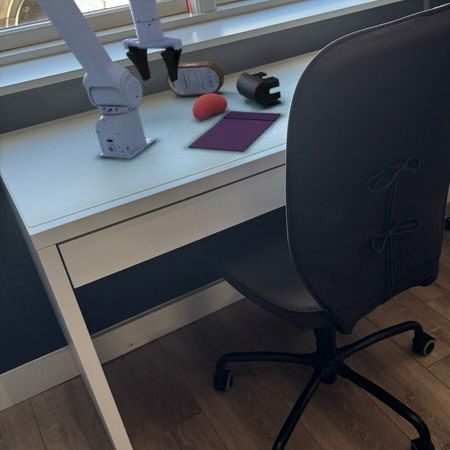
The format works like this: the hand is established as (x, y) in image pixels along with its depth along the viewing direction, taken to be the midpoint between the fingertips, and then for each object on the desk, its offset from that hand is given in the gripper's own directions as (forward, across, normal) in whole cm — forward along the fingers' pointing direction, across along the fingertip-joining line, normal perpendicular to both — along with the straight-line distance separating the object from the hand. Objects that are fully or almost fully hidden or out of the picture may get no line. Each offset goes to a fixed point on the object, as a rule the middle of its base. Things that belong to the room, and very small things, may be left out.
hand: (160, 80), depth 131 cm
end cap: (+10, -18, -12) cm, 24 cm away
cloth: (+9, -21, +4) cm, 23 cm away
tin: (+10, +2, -16) cm, 19 cm away
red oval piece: (+10, -10, -4) cm, 14 cm away
